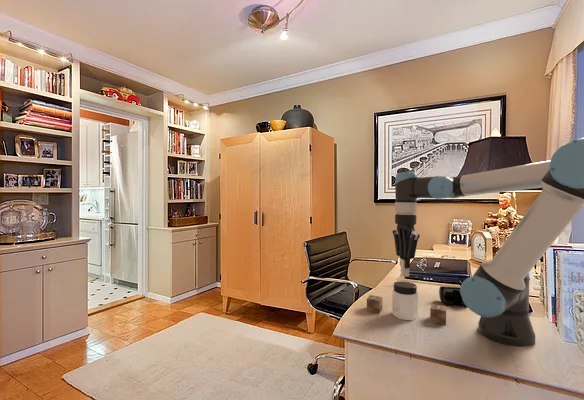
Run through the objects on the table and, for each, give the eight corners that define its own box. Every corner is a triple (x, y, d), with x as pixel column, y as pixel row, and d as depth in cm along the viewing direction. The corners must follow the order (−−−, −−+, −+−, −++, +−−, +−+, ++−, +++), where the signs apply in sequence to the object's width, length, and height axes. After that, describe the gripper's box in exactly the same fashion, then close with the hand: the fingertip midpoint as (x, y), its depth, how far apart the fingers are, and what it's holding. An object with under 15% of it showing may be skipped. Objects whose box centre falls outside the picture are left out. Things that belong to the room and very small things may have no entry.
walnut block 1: (446, 319, 108) (446, 305, 108) (445, 325, 104) (446, 310, 104) (431, 317, 111) (431, 303, 111) (430, 322, 107) (430, 308, 106)
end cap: (464, 301, 127) (464, 285, 127) (470, 307, 120) (470, 291, 120) (438, 299, 129) (439, 284, 129) (443, 305, 122) (443, 289, 122)
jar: (388, 312, 115) (388, 282, 115) (405, 310, 117) (406, 280, 117) (403, 322, 106) (403, 289, 106) (422, 319, 109) (422, 287, 108)
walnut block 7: (382, 309, 118) (382, 296, 118) (379, 313, 114) (379, 300, 114) (369, 307, 121) (369, 294, 120) (366, 311, 116) (366, 298, 116)
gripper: (426, 214, 106) (425, 280, 106) (403, 212, 118) (402, 270, 119) (408, 215, 103) (407, 281, 104) (386, 212, 116) (386, 272, 117)
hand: (404, 276), depth 111 cm, fingers closed
